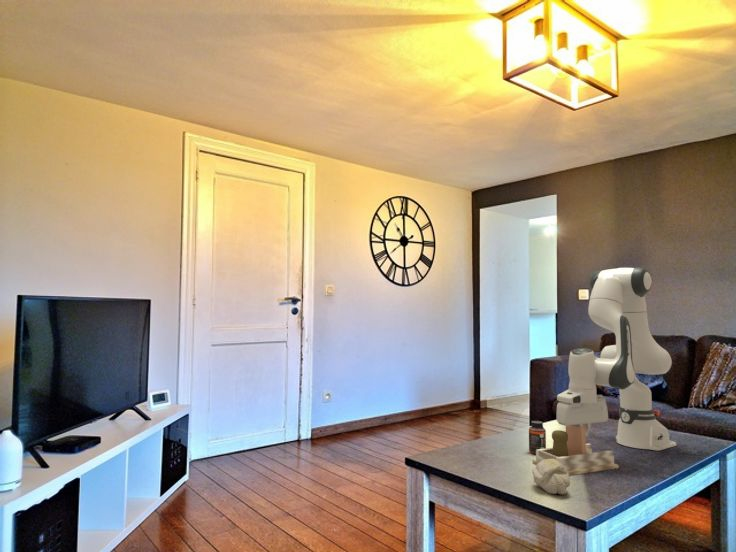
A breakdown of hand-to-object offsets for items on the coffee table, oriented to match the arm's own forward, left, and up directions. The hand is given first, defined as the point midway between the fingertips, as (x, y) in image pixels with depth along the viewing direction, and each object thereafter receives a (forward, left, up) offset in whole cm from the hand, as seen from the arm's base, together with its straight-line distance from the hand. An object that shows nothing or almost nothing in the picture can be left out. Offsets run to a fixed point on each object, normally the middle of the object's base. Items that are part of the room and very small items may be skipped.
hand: (583, 436), depth 164 cm
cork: (+10, 0, -9) cm, 13 cm away
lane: (+4, 0, -9) cm, 10 cm away
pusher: (+3, 0, -8) cm, 9 cm away
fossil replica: (+28, +15, -10) cm, 33 cm away
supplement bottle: (+6, -16, -10) cm, 20 cm away
